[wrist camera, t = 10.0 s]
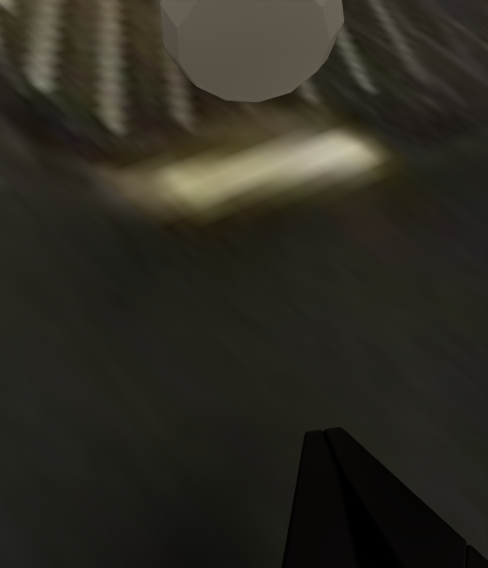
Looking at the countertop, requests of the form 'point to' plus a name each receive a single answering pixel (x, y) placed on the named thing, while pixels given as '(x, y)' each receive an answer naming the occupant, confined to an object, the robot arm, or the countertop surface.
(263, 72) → the jar
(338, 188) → the countertop surface
